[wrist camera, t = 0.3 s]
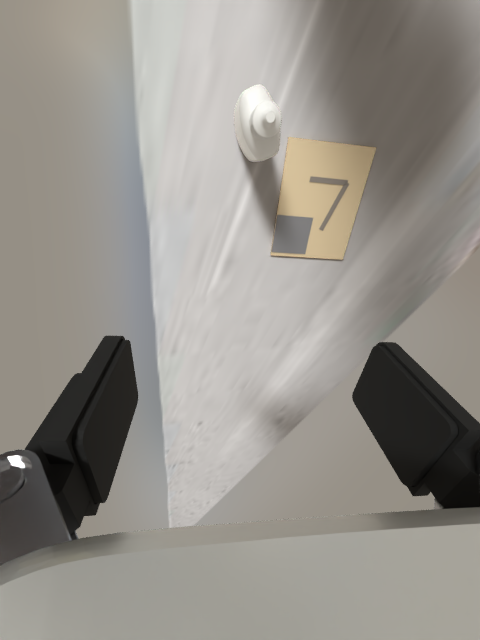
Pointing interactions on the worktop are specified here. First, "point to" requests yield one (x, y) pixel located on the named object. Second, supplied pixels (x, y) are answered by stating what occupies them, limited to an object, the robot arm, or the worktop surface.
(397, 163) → the worktop surface
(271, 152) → the eye dropper bottle
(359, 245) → the worktop surface
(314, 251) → the card
